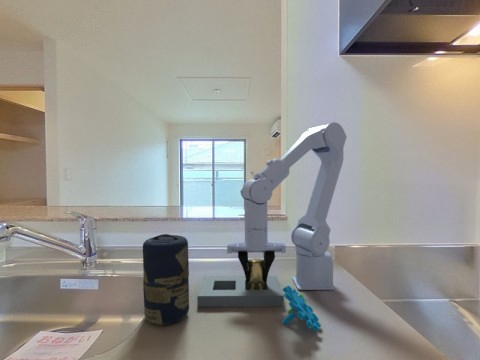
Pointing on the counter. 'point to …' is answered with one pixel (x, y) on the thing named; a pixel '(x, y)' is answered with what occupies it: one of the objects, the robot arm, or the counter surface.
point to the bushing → (256, 274)
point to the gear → (300, 309)
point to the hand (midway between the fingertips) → (256, 280)
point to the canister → (165, 278)
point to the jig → (238, 292)
